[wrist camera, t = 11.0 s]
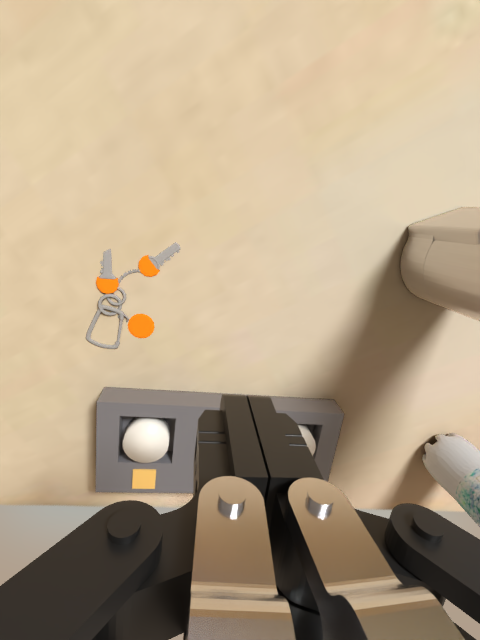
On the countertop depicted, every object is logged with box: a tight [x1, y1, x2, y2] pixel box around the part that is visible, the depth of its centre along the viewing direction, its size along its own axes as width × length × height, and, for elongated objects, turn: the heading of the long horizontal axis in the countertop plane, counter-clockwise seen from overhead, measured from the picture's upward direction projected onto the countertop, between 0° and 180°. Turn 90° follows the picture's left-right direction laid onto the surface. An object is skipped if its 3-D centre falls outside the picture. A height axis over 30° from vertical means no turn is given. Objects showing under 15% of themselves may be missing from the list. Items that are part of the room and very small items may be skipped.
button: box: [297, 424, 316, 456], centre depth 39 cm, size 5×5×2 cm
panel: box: [96, 387, 344, 493], centre depth 39 cm, size 26×11×3 cm, turn 83°
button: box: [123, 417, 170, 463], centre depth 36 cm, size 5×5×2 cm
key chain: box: [86, 242, 180, 349], centre depth 34 cm, size 13×7×1 cm, turn 158°
